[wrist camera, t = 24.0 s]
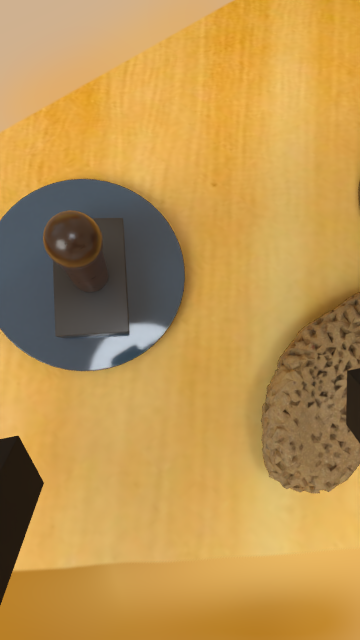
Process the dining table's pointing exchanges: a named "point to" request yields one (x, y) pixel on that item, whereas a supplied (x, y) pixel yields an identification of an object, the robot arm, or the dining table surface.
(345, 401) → the sponge
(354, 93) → the dining table surface
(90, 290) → the stamp
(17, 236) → the plate
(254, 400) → the dining table surface
